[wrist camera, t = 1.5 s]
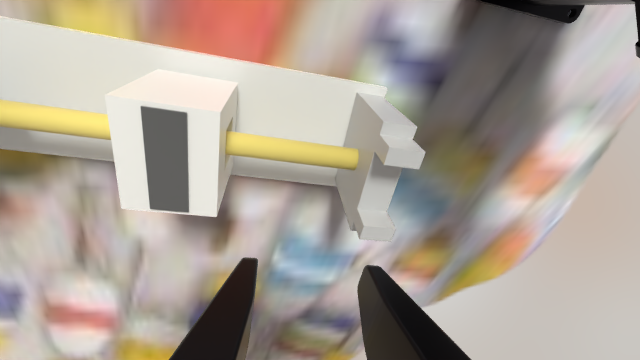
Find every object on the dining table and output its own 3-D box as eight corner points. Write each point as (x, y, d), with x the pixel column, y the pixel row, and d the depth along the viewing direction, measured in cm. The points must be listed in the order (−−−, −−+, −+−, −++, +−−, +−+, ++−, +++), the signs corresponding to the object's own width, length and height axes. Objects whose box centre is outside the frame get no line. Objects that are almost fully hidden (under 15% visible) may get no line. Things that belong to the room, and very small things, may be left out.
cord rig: (384, 86, 18) (440, 127, 12) (356, 184, 22) (387, 258, 15) (-133, -9, 14) (-504, -25, 7) (-68, 136, 17) (-283, 213, 10)
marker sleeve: (238, 82, 16) (219, 113, 11) (233, 164, 18) (216, 218, 14) (158, 69, 15) (102, 95, 11) (163, 156, 18) (120, 210, 13)
